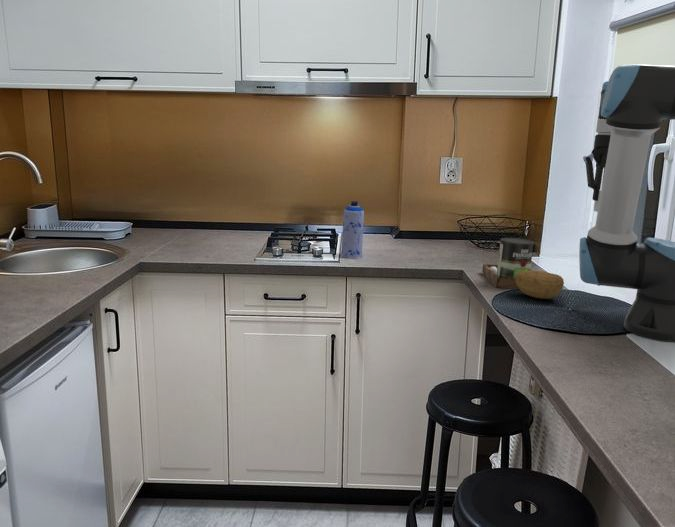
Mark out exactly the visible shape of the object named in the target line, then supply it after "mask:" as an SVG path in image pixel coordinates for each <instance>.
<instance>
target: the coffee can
mask: <svg viewBox="0 0 675 527" xmlns="http://www.w3.org/2000/svg"><path fill="white" fill-rule="evenodd" d="M499 243H500V244H499V252H498V260H497V265H498V269H497V274H496V275H497V276H498V277H499V278H514V279H515V278H516V275H517V274H518V273H519V272H521V271H524V270H531V267H532V260H533V251H534V245H535V242H534V241H533V240H531V239H526V238H521V237H520V238H519V237H502V238H500V242H499Z"/></svg>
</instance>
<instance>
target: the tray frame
mask: <svg viewBox="0 0 675 527" xmlns="http://www.w3.org/2000/svg"><path fill="white" fill-rule="evenodd" d="M492 266H494V267H496V268H497V269H498V264H493V263H492V264H490V263H489V264H488V263H482V272H483V273H484V274H483V273H482V274H483V276H484V277H486V278H487V279H488V280H489V282H490V283H492V285H493V286H494V287H495V288H497V289H515V290H516V289H518V290H520V289H519V287H518V286H517V284H516V280H515V279H514V278H499V277H498V276H497V274H495V273H494V272H493V271H492V270H491V269H490V267H492Z"/></svg>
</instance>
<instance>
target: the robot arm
mask: <svg viewBox="0 0 675 527" xmlns="http://www.w3.org/2000/svg"><path fill="white" fill-rule="evenodd" d="M602 83H603V84H602V86H601V87H602V88H601V92H600V99H599V108H598V116H597V121H596V129H595V133H597V134H595V136H594V141H593V142H594V143H593V148H592V151H591V153H590V154H589V155H586V156H585V155H584V156H583V158H582V159H583V162H584V163H585V168H586V180H587V182H586V183H587V187H588V188H590V189H592V191H593V192H592V201H594V205H593V212H596V213H597V214H596V221H595V225H594V226H593V227H591V228H590V229H588V231H587V235H586V236H583V237H581V238H579V247H578V248H579V250H578V251H579V254H578V255H579V258H578V260H579V262H578V263H579V276H580V277H579V278H580V280H581V281H582V282H583V283H585V284H590V285H595V286H601V287H602V286H603V287H612V288H613V287H614V288H624V289H632V290H636V295H635V300H634V301H633V302H632V305H631V306H630V308H629V309H628V312H627V313H626V315H625V317H624V322H623V328H624V329H625V330H627V331H628V332H630V333H632V334H633V335H636V336H639V337H644V338H646V339H647V338H648V339H652V340H656V341H662V342H675V241H671V240H667V239H662V238H658V237H646V238H645V240H644V241H643V243H642V242H641V243H640V242H638V236H637V234H636V233H635V232H634V231H633V229H634V226H635V225H634V224H635V219H636V214H637V209H638V204H639V198H640V194H641V189H642V183H643V178H644V173H645V169H646V168H645V167H646V164H647V158H648V153H649V148H650V143H651V142H650V141H651V139H652V138H651V137H652V135H653V134H655V133H656V132H657V131H659V130H660V129H661V125H662V121H663V120H670V121H671V120H675V65H665V64H664V65H662V64H661V65H660V64H657V65H656V64H655V65H654V64H638V63H636V64H621V65H619V66H617V67H615V68H614V69H613V71H612V72H611V74H610V77H609V79H608V81H607V80H606V81H605V82H602ZM593 161H594V162H595V168H596V169H595V174H594V166H593Z"/></svg>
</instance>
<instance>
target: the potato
mask: <svg viewBox="0 0 675 527" xmlns="http://www.w3.org/2000/svg"><path fill="white" fill-rule="evenodd" d="M515 280H516V284H517V286H518V287H519V289H518V290H520V292H522V293H523V294H525V295H526V296H529V297H530V298H533V297H534V299H537V298H539V299H538V300H543V299H544V300H550V299H552V298H555V297H556V296H558V295H560V292H562V290H563V288H564V284H565V282H564V278H563V277H562V276H561V275H559V274H556V273H551V272H548V271H544V270H531V269H530V270H524V271H521V272H519V273H518V274H517V275H516V278H515Z"/></svg>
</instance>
